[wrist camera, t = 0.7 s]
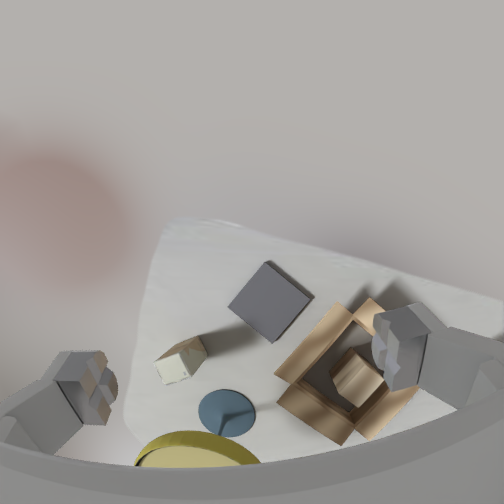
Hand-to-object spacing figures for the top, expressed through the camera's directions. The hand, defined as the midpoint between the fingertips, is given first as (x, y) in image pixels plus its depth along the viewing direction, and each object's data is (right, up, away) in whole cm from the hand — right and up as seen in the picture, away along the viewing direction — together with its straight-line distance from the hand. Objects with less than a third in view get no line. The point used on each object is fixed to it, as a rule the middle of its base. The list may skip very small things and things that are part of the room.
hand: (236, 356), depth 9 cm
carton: (+18, -18, +45) cm, 51 cm away
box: (-11, -15, +47) cm, 51 cm away
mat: (+3, -6, +46) cm, 46 cm away
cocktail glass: (-4, -28, +46) cm, 54 cm away
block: (+18, -18, +45) cm, 51 cm away
